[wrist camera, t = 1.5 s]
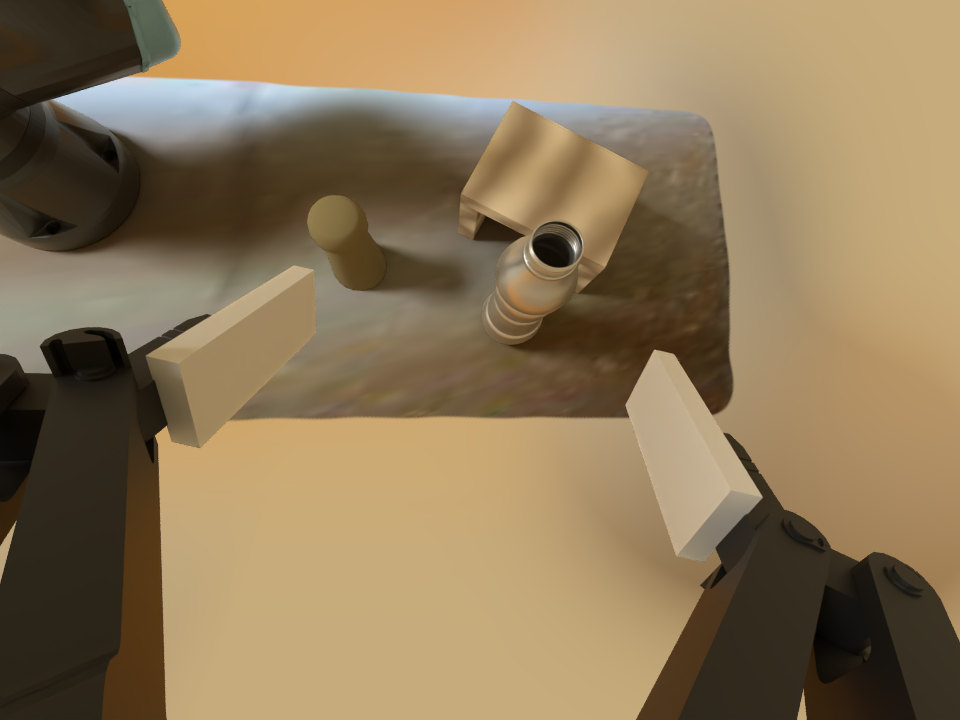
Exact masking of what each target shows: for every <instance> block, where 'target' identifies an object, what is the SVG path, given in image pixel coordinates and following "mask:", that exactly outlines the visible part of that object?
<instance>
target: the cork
mask: <svg viewBox="0 0 960 720" xmlns="http://www.w3.org/2000/svg"><path fill="white" fill-rule="evenodd" d="M307 225H308V229H309V233H310V235H311V237H312V238H313V240H314V241H315V243H316V244H317V245H318V246H319V247H321V248H322V249H323V250H325V251H326V253H327V256H328V259H329V261H330V264H331V267H332V270H333V273H334V275H335V277H336V278H337V280H338V281H339V283H341V284H342V285H343V286H345V287H346V288H349V289H352V290H360V291H363V290H367V289H371V288H372V287H374V286H376V285H377V284H378V283H379V282H380V281H381V280H382V279H383V277H384V275H385V272H386V264H387V262H386V259H385V256H384V254H383V253H382V251H381V250H380V248H379V247H378V245H377V244H376V243H375V241H374V240H373V239H372V237H371V236H370V234H369V233H368V222H367V219H366V215H365V213H364V211H363V210H362V209H361V207H360V206H359V205H358V204H357V203H356V202H354V201H353V200H352V199H350V198H347V197H344V196H339V195H330V196H326V197H323V198H322V199H320V200H318V201H317V202H316V203H315V204H314V205H313V206H312V207H311V210H310V212H309V214H308V220H307Z"/></svg>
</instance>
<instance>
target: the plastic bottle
mask: <svg viewBox="0 0 960 720" xmlns="http://www.w3.org/2000/svg"><path fill="white" fill-rule="evenodd" d="M584 249H585V243H584V239H583V236H582V234H581V232H580V231H579V230H578V228H576V227H575V226H574V225H573V224H571V223H569V222H567V221H564V220H560V219H552V220H547V221H545V222H543V223H541V224H539V225H538V226H537V227H536V228H535V229H534V230H533V232H532V233H531V235H528V236H525V237H522V238H520V239H518V240H516V241H515V242H513V243H512V244H510V245H509V246H508V247H507V248H506V249H505V250H504V251H503V253H502V254H501V256H500V258H499V260H498V263H497V267H496V274H495V279H496V288H495V290H494V291H493V292H492V293H491V294H490V295H489V297H488V298H487V299H486V301H485V302H484V305H483V307H482V313H481V314H482V322H483V326H484V328H485V330H486V332H487V333H488V335H489V336H490V337H491V338H493V339H494V340H496V341H497V342H500V343H502V344H507V345H514V344H519V343H523V342H525V341H528V340H529V339H531V338H532V337H533V336H534V335H535V334H536V333H537V331H538V330H539V328H540V326H541V323H542V321H543V317H545V316H546V315H547V314H550V313H552V312H554V311H556V310H557V309H559V308H560V307H562V306H563V305H565V304H566V303H567V302H568V301H569V300H570V299H571V297H572V295H573V294H574V292H575V289H576V287H577V282H578V275H579V272H578V263H579V261H580V260H581V258H582V256H583V253H584Z"/></svg>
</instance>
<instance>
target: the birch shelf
mask: <svg viewBox="0 0 960 720" xmlns="http://www.w3.org/2000/svg"><path fill="white" fill-rule="evenodd" d="M648 173H649V171H648V170H646V169H644V168H642V167H640V166H638V165H636V164H634V163H632V162H630V161H628V160H626V159H624V158H622V157H621V156H619V155H617V154H615V153H613V152H611V151H609V150H607V149H605V148H603V147H601V146H599V145H597V144H595V143H593V142H591V141H589V140H588V139H586V138H584V137H582V136H580V135H578V134H576V133H574V132H572V131H570V130H568V129H566V128H564V127H562V126H560V125H558V124H556V123H555V122H553V121H551V120H549V119H547V118H545V117H543V116H541V115H539V114H537V113H535V112H533V111H531V110H529V109H527V108H525V107H523V106H522V105H520V104H518V103H516V102H514V101H513V102H512V103H511V105H510V107H509V109H508V111H507V112H506V114H505V116H504V118H503V120H502V121H501V123H500V125H499V127H498V128H497V130H496V132H495V134H494V136H493V137H492V139H491V141H490V143H489V145H488V146H487V148H486V150H485V152H484V153H483V155H482V157H481V159H480V161H479V162H478V164H477V166H476V168H475V170H474V171H473V173H472V175H471V177H470V179H469V180H468V182H467V184H466V186H465V187H464V189H463V191H462V193H461V200H460V213H459V225H458V233H460V234H462V235H464V236H466V237H468V238H470V239H472V240H473V239H474V237H475V235H476V234H477V232H478V230H479V228H480V226H481V224H482V222H483V221H484V219H485V217H486V216H487V217H489V218H491V219H493V220H495V221H497V222H499V223H501V224H503V225H505V226H507V227H509V228H511V229H513V230H515V231H517V232H519V233H521V234H523V235H525V236H528V235H531V233H532V232H533V230H534V229H535V228H536V227H537V226H538V225H539V224H541V223H543V222H545V221H547V220H552V219H560V220H564V221H567V222H569V223H571V224H573V225H574V226H575V227H576V228H578V230H579V231H580V232H581V234H582V236H583V239H584V243H585V249H584V253H583V256H582V258H581V260H580V261H579V263H578V272H579V275H578V282H577V287H576V289H575V292H576V293H579V292H580V291H581V290H582V289H583V288H584V287H585V286H586V285H587V284H588V283H590V282H591V281H592V280H593V279H594V278H595V277H596V276H597V275H598V274H599V273H600V272H601V271H602V270H603V269H604V268H605V267H606V265H607V263H608V261H609V259H610V256H611V254H612V252H613V250H614V248H615V245H616V243H617V241H618V239H619V237H620V234H621V232H622V230H623V228H624V226H625V224H626V221H627V219H628V217H629V215H630V213H631V210H632V208H633V206H634V204H635V202H636V199H637V197H638V195H639V193H640V191H641V189H642V186H643V184H644V182H645V180H646V178H647V175H648Z"/></svg>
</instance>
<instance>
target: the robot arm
mask: <svg viewBox="0 0 960 720" xmlns="http://www.w3.org/2000/svg"><path fill="white" fill-rule="evenodd" d="M180 44H181V41H180V36H179V33H178V30H177V28H176V26H175V24H174V22H173V21H172V18H171V17H170V15H169V13H168V11H167V9H166V7H165V5H164V3H163V1H162V0H0V234H1V235H3V236H6V237H8V238H10V239H13V240H15V241H17V242H20V243H22V244H24V245H27V246H30V247H33V248H37V249H43V250H55V251H59V250H70V249H76V248H80V247H83V246H86V245H89V244H92V243H94V242H96V241H98V240H100V239H102V238H104V237H105V236H107V235H108V234H110V233H111V232H113V231H114V230H115V229H116V228H117V227H118V226H119V225H120V224H121V223H122V222H123V221H124V220H125V219H126V218H127V216H128V215H129V213H130V212H131V210H132V208H133V206H134V204H135V202H136V199H137V196H138V192H139V183H140V179H139V171H138V167H137V164H136V161H135V159H134V157H133V155H132V154H131V152H130V151H129V149H128V148H127V147H126V146H125V145H124V144H123V143H122V142H121V141H120V140H119V139H118V138H117V137H116V136H114V135H113V134H112V133H111V132H110V131H109V130H107V129H106V128H105V127H104V126H102V125H101V124H100V123H98V122H96V121H95V120H93V119H92V118H90V117H88V116H86V115H84V114H81V113H79V112H77V111H75V110H73V109H71V108H69V107H67V106H65V105H63V104H61V103H59V102H57V101H55V100H52V99H55V98H58V97H61V96H64V95H68V94H71V93H74V92H78V91H81V90H84V89H87V88H91V87H94V86H97V85H101V84H104V83H107V82H110V81H114V80H117V79H120V78H124V77H127V76H130V75H133V74H136V73H140V72H147V71H148V70H149V68H150V67H152V66H154V65H156V64H159V63H161V62H164V61H166V60H168V59H171V58H173V57H174V56H176V55H177V53H178V51H179V49H180ZM315 334H316V317H315V280H314V270H312V269H308V268H303V267H299V266H295V265H294V266H292V267H291V268H289V269H287V270H286V271H284V272H282V273H281V274H279V275H277V276H276V277H274V278H272V279H271V280H269V281H268V282H266V283H264V284H263V285H261V286H259V287H258V288H256V289H254V290H253V291H251V292H249V293H248V294H246V295H245V296H243V297H241V298H240V299H238V300H236V301H235V302H233V303H231V304H230V305H228V306H226V307H225V308H223V309H222V310H220V311H218V312H217V313H215V314H213V315H208V314H206V315H203V316H199V317H196V318H192V319H189V320H187V321H185V322H183V323H182V324H180V325H178V326H176V327H175V328H174V329H173V330H169V331H168V332H166V333H164V334H163V335H162V337H157V338H156V339H154V340H152V341H150V342H149V343H147V344H145V345H144V346H142V347H140V348H138V349H137V350H135V351H133V352H131V353H130V354H127V351H126V348H125V345H124V342H123V339H122V337H121V335H120V333H119V332H117V331H115V330H113V329H108V328H101V327H87V328H79V329H73V330H68V331H65V332H61V333H58V334H55V335H53V336H52V337H50V338H48V339H46V340H45V341H44V342H43V343H42V344H41V345H40V348H41V350H42V352H43V355H44V357H45V359H46V361H47V363H48V365H49V367H50V369H51V371H52V374H41V373H24V371H23V369H22V367H21V365H20V363H19V362H18V360H17V359H16V358H15V357H12V356H9V355H6V354H0V545H1V544H2V542H3V540H4V539H5V537H6V536H7V534H8V533H9V531H10V530H11V528H12V526H13V525H14V523H15V521H16V520H17V522H16V526H15V529H14V533H13V537H12V541H11V544H10V549H9V552H8V556H7V560H6V564H5V568H4V572H3V575H2V579H1V583H0V720H167V719H166V705H165V670H164V635H163V601H162V567H161V532H160V501H159V500H160V498H159V465H158V443H157V440H156V438H155V435H156V434H157V433H158V432H160V431H161V430H162V429H163V428H164V427H165V426H167V428H168V431H169V434H170V437H171V440H172V442H175V443H179V444H184V445H188V446H193V447H197V448H201V447H202V446H203V445H204V444H205V443H206V442H207V441H208V440H209V439H210V438H211V437H212V436H213V435H214V434H215V433H216V432H217V431H218V430H219V429H220V428H221V427H222V426H223V425H224V424H225V423H226V422H227V421H228V420H229V419H230V418H231V417H232V416H233V415H234V414H235V413H236V412H237V411H238V410H239V409H240V408H241V407H242V406H243V405H244V404H245V403H246V402H247V401H248V400H249V399H250V398H251V397H252V396H253V395H254V394H255V393H256V392H257V391H258V390H259V389H260V388H262V387H263V386H264V385H265V384H266V383H267V382H268V381H269V380H270V379H271V378H272V377H273V376H274V375H275V374H276V373H277V372H278V371H279V370H280V369H281V368H282V367H283V366H284V365H285V364H286V363H287V362H288V361H289V360H290V359H291V358H292V357H293V356H294V355H295V354H296V353H297V352H298V351H299V350H300V349H301V348H302V347H303V346H304V345H305V344H306V343H307V342H308V341H309V340H310V339H311V338H312V337H313V336H314V335H315ZM626 408H627V411H628V414H629V417H630V420H631V423H632V426H633V429H634V432H635V435H636V438H637V441H638V444H639V447H640V450H641V453H642V456H643V459H644V462H645V464H646V468H647V470H648V473H649V476H650V479H651V482H652V485H653V488H654V491H655V494H656V497H657V500H658V503H659V506H660V509H661V512H662V515H663V518H664V521H665V523H666V527H667V530H668V533H669V536H670V538H671V541H672V544H673V547H674V550H675V553H676V556H678V557H683V558H687V559H692V560H696V561H701V562H704V561H705V560H706V559H707V558H708V557H709V556H710V555H711V553H713V551H714V550H715V549H716V551H717V553H718V555H719V557H720V560H721V562H722V563H721V564H720V565H719V566H718V567H717V568H716V570H715V571H714V572H713V573H712V574H711V575H710V576H709V577H708V578H707V579H706V580H705V581H704V582H703V583H702V584H701V585H700V586H702V587H703V588H704V589H705V590H704V592H703V593H702V595H701V598H700V599H699V601H698V603H697V605H696V607H695V609H694V611H693V612H692V614H691V616H690V618H689V620H688V622H687V624H686V626H685V628H684V630H683V631H682V634H681V635H680V637H679V639H678V641H677V643H676V645H675V647H674V649H673V651H672V653H671V655H670V656H669V658H668V660H667V662H666V664H665V666H664V668H663V669H662V671H661V673H660V675H659V677H658V679H657V681H656V683H655V685H654V687H653V688H652V690H651V692H650V694H649V696H648V698H647V700H646V702H645V704H644V706H643V708H642V709H641V711H640V713H639V715H638V717H637V719H636V720H797V716H798V712H799V707H800V702H801V697H802V693H803V688H804V696H805V706H806V716H807V720H960V642H959V639H958V637H957V635H956V633H955V630H954V628H953V626H952V624H951V621H950V620H949V617H948V615H947V612H946V610H945V608H944V606H943V604H942V601H941V599H940V598H939V596H938V595H937V593H936V592H935V590H934V589H933V588H932V587H931V585H929V583H928V582H927V581H926V580H925V579H924V578H923V577H922V576H921V575H920V574H919V573H918V572H915V571H914V569H913V568H911V567H910V566H908V565H906V564H904V563H903V562H901V561H899V560H897V559H896V558H894V557H891V556H889V555H886V554H884V553H877V552H873V553H871V554H870V555H868V556H867V557H866V558H864V559H863V560H862V561H860V562H858V561H856V560H854V559H852V558H850V557H848V556H846V555H843V554H841V553H839V552H837V551H835V550H833V549H831V547H830V545H829V543H828V542H827V540H826V538H825V537H824V536H823V535H822V534H821V533H820V531H818V529H817V528H816V527H815V526H813V525H812V524H811V523H809V522H808V521H807V520H805V519H804V518H802V517H801V516H799V515H797V514H795V513H793V512H790V511H787V510H784V509H783V507H782V506H781V504H780V502H779V501H778V500H777V498H776V497H775V495H774V493H773V492H772V490H771V489H770V487H769V486H768V484H767V483H766V481H765V480H764V478H763V477H762V475H761V474H759V473H758V472H759V471H758V469H757V468H756V466H755V464H754V463H752V462H751V461H752V460H751V458H750V457H749V455H748V454H747V452H746V451H745V449H744V448H743V447H742V446H741V445H740V444H739V443H738V442H737V441H736V440H735V439H734V438H733V437H732V436H731V435H730V434H727V433H723V432H722V431H721V429H720V428H719V426H718V424H717V423H716V421H715V419H714V418H713V416H712V415H711V413H710V411H709V410H708V408H707V407H706V405H705V403H704V402H703V400H702V399H701V397H700V395H699V394H698V392H697V390H696V389H695V387H694V386H693V384H692V382H691V381H690V379H689V378H688V376H687V374H686V373H685V371H684V370H683V368H682V366H681V365H680V363H679V361H678V360H677V358H676V357H675V355H674V354H671V353H667V352H663V351H659V350H654V351H653V353H652V355H651V357H650V359H649V361H648V363H647V365H646V367H645V368H644V370H643V372H642V374H641V376H640V378H639V380H638V382H637V384H636V386H635V388H634V390H633V392H632V394H631V395H630V397H629V399H628V401H627V403H626Z"/></svg>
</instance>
